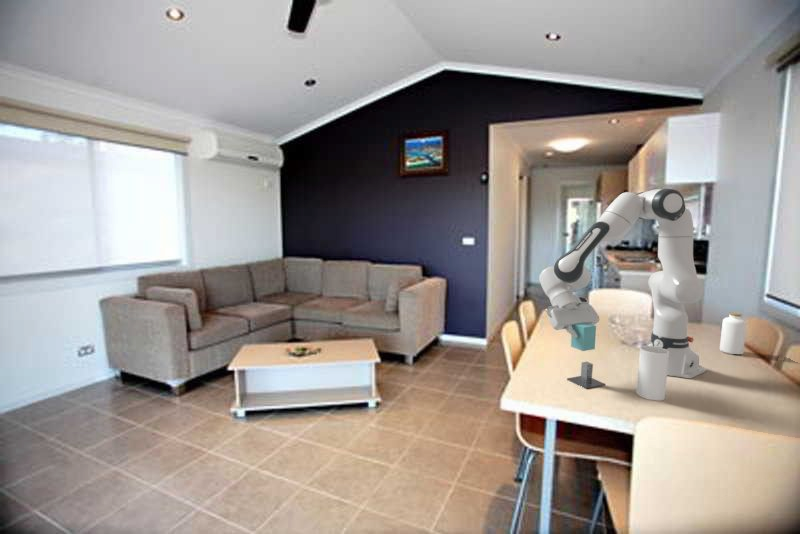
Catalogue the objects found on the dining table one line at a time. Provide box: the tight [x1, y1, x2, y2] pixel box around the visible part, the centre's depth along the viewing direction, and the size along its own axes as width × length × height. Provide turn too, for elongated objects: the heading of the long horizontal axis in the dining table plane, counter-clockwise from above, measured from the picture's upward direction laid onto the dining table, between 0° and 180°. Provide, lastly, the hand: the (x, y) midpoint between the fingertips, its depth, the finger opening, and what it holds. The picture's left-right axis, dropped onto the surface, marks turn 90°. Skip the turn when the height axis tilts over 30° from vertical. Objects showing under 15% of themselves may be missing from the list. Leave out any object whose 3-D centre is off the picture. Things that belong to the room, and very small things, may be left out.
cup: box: [636, 345, 669, 402], centre depth 137 cm, size 8×8×16 cm
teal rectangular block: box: [570, 323, 597, 352], centre depth 148 cm, size 6×6×9 cm
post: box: [566, 361, 606, 390], centre depth 148 cm, size 9×9×7 cm
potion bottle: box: [719, 312, 748, 355], centre depth 182 cm, size 8×8×18 cm
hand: (584, 336), depth 147 cm, fingers closed on teal rectangular block, 6 cm apart
